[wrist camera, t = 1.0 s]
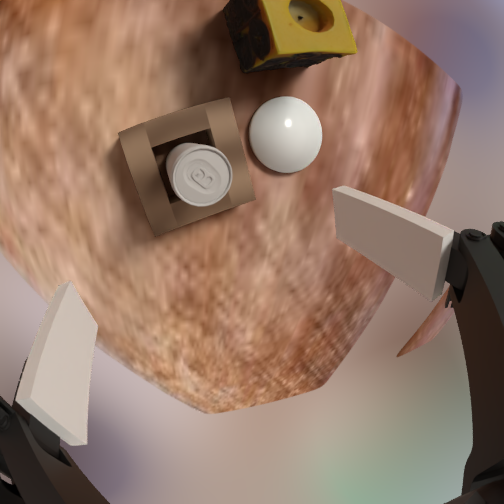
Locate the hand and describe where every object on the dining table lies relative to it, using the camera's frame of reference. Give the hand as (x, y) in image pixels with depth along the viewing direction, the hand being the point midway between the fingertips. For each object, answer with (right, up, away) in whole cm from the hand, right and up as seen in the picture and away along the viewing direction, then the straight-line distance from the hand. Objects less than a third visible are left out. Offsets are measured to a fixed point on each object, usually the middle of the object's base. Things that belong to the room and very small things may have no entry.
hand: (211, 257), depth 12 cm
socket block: (-6, +10, +18) cm, 21 cm away
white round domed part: (+6, +15, +20) cm, 26 cm away
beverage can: (-6, +11, +18) cm, 22 cm away
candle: (+4, +27, +14) cm, 31 cm away
